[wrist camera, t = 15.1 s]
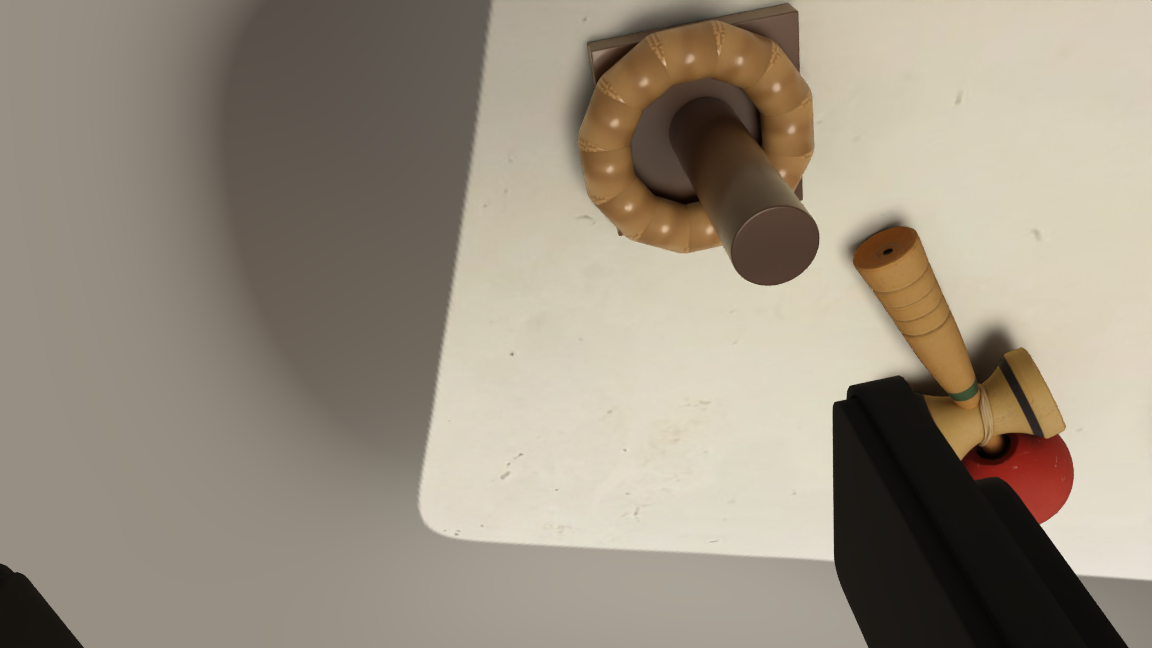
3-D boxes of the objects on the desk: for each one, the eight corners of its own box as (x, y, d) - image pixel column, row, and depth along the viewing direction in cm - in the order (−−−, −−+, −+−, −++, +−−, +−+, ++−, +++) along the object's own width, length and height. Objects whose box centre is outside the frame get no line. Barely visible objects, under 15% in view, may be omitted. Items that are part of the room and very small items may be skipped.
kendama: (776, 277, 43) (934, 520, 50) (834, 321, 37) (1003, 590, 44) (910, 180, 43) (1050, 439, 49) (990, 210, 37) (1137, 499, 44)
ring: (557, 46, 34) (562, 62, 32) (798, -6, 34) (816, 7, 32) (599, 256, 39) (605, 280, 37) (808, 211, 39) (824, 232, 37)
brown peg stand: (586, 42, 35) (632, 151, 26) (788, 3, 35) (908, 98, 26) (614, 223, 39) (662, 374, 30) (794, 189, 39) (898, 328, 30)
